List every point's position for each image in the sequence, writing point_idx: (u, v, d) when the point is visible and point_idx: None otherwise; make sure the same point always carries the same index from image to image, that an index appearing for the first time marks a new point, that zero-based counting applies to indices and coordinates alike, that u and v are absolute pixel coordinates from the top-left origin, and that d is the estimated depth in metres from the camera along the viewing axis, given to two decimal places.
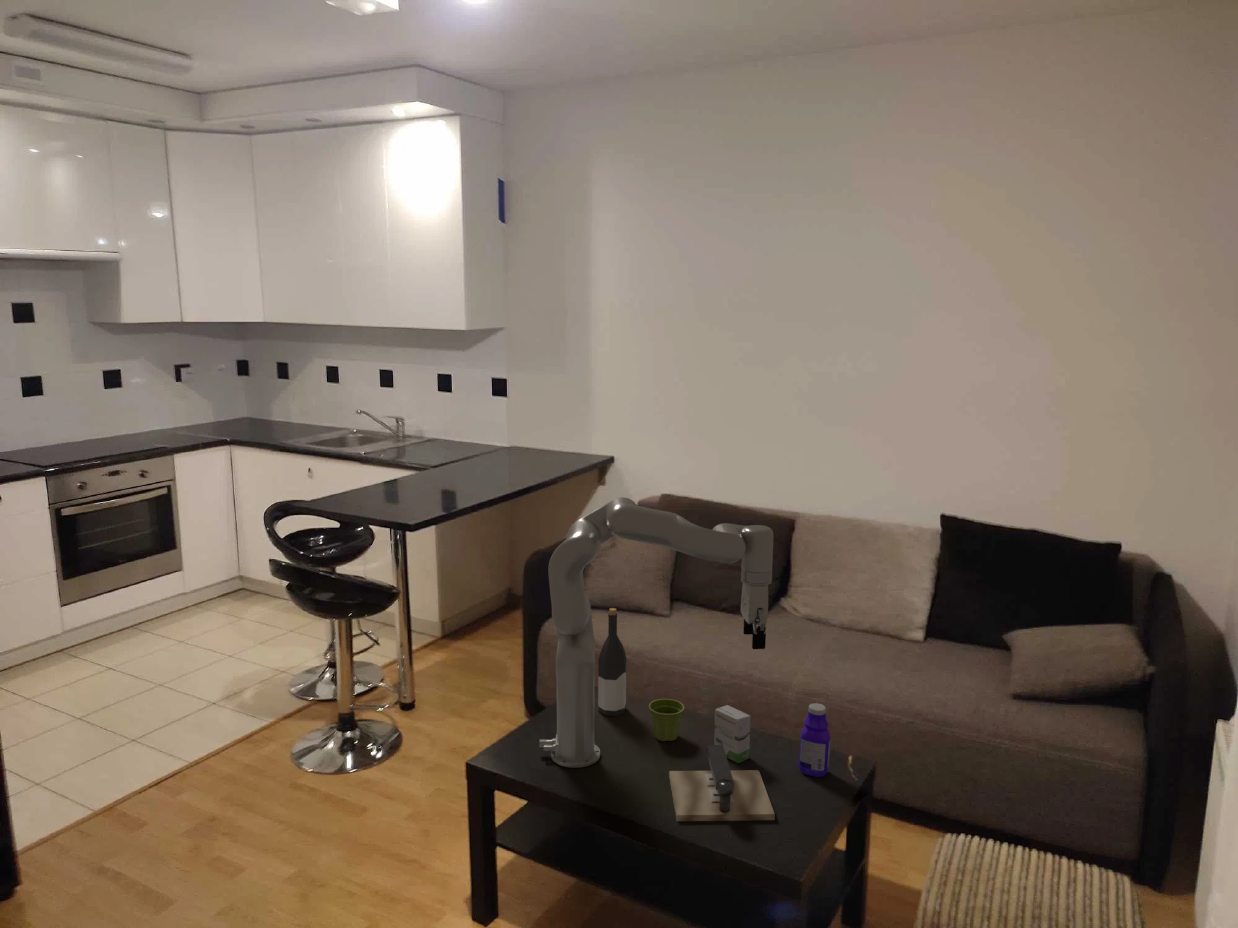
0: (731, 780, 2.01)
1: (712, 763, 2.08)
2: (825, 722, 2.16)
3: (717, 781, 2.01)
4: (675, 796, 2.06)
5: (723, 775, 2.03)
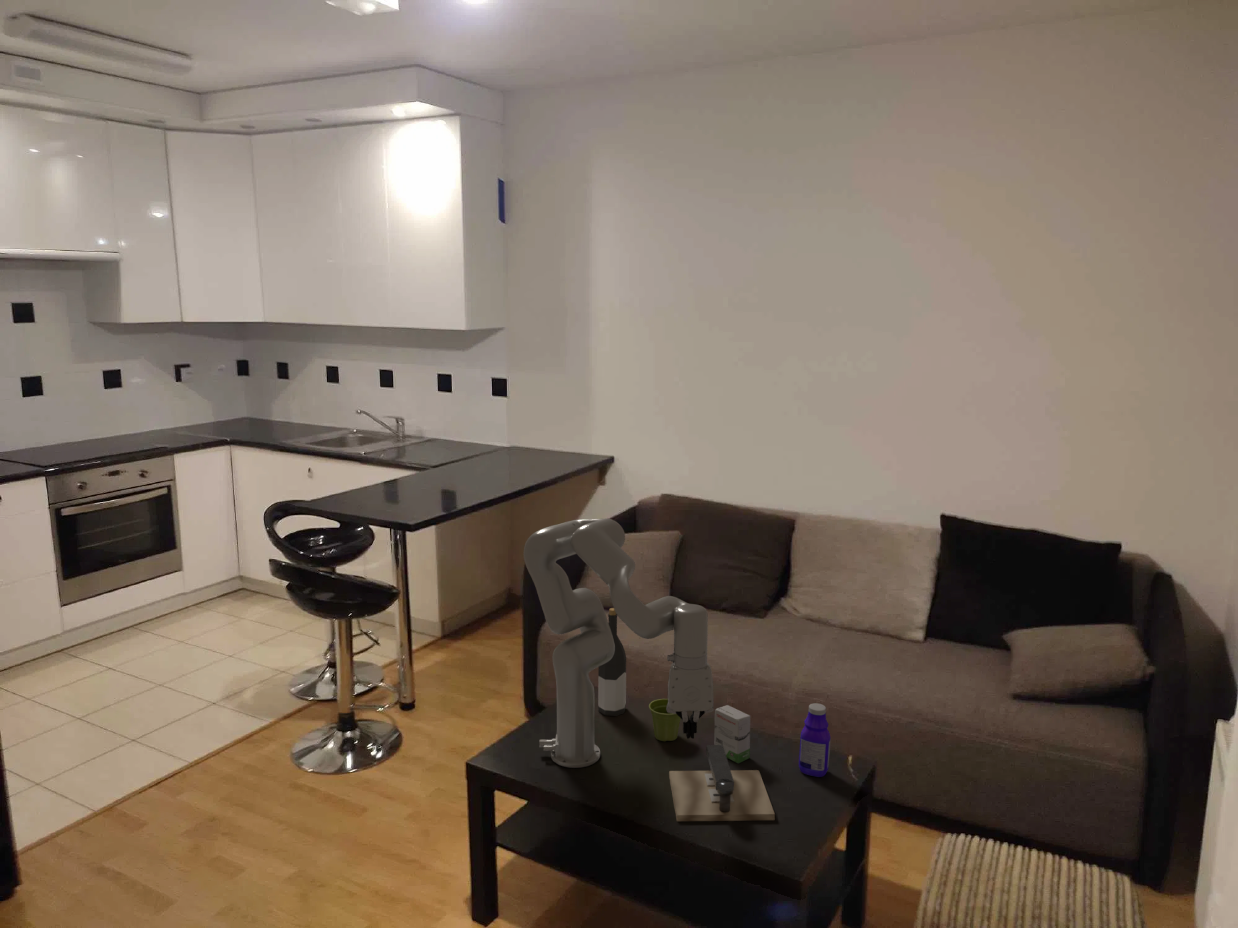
0: (731, 780, 2.01)
1: (712, 763, 2.08)
2: (825, 722, 2.16)
3: (717, 781, 2.01)
4: (675, 796, 2.06)
5: (723, 775, 2.03)
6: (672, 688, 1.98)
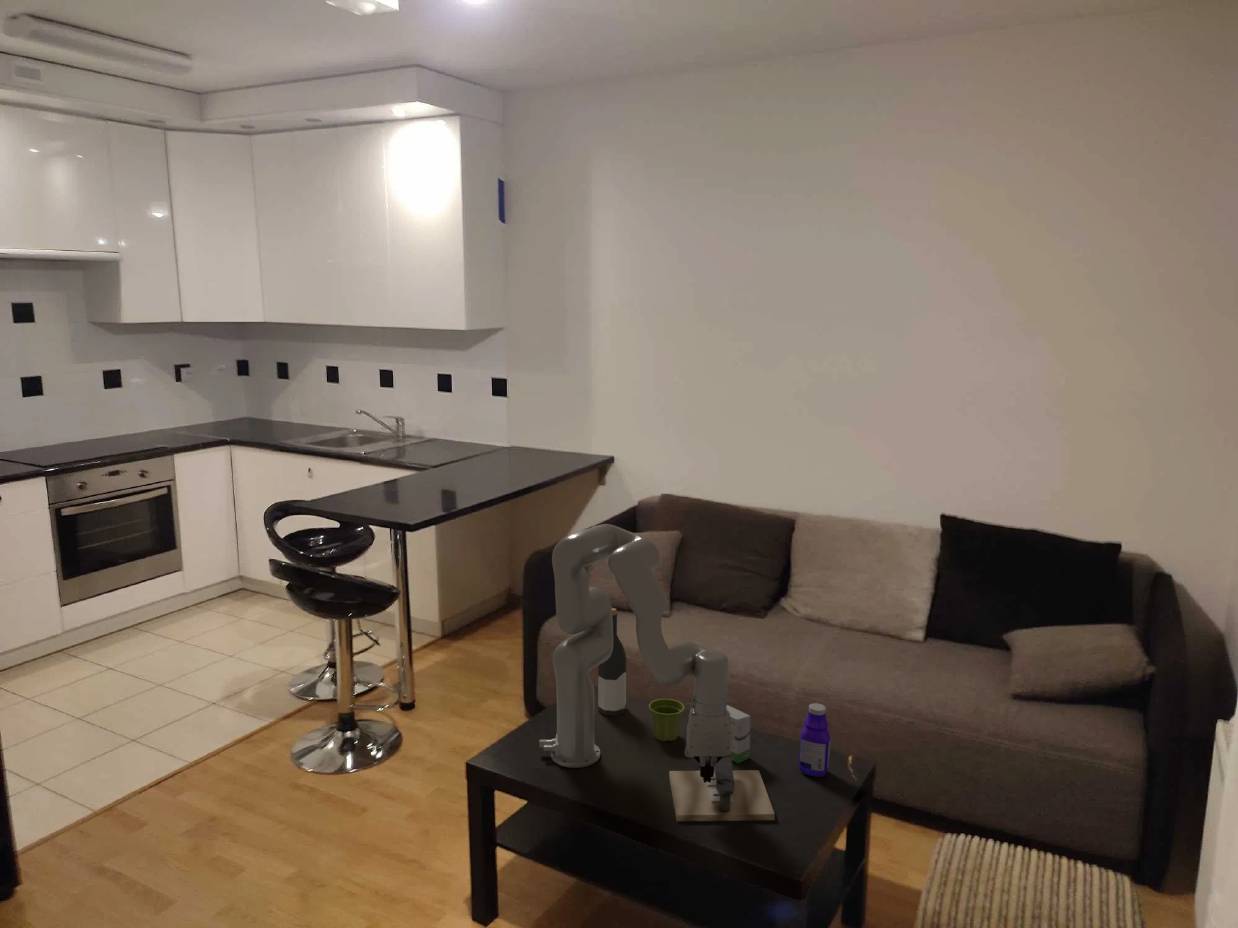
0: (732, 780, 2.01)
1: (716, 763, 2.08)
2: (825, 722, 2.16)
3: (717, 781, 2.01)
4: (675, 796, 2.06)
5: (724, 775, 2.03)
6: (691, 733, 2.01)
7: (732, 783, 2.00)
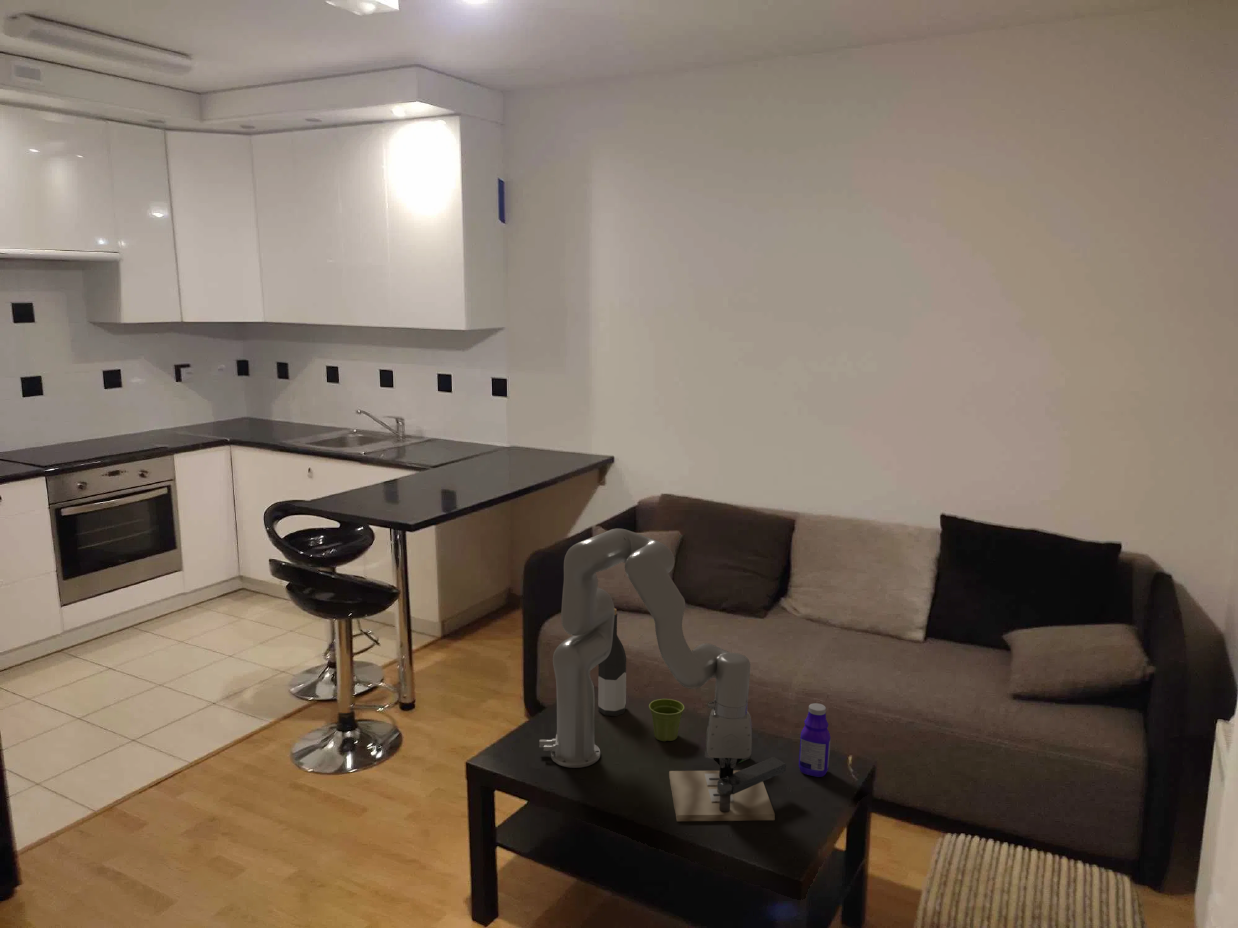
0: (733, 784, 1.99)
1: (747, 768, 2.06)
2: (825, 722, 2.16)
3: (722, 778, 2.02)
4: (675, 796, 2.06)
5: (735, 778, 2.02)
6: (711, 735, 2.01)
7: (730, 786, 1.99)
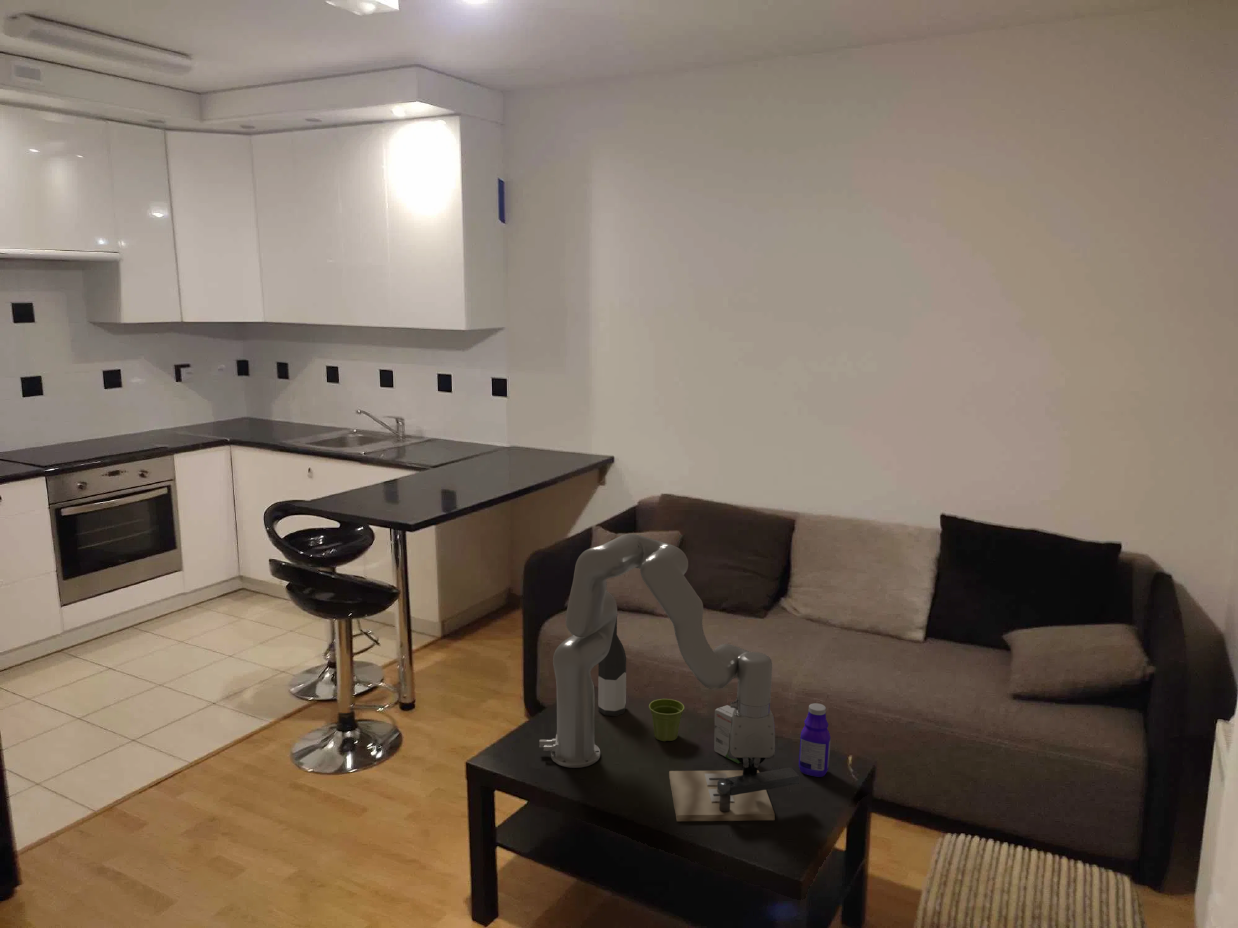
0: (732, 785, 1.99)
1: (757, 773, 2.04)
2: (825, 722, 2.16)
3: (725, 778, 2.02)
4: (675, 796, 2.06)
5: (737, 780, 2.01)
6: (735, 735, 2.01)
7: (728, 786, 1.98)
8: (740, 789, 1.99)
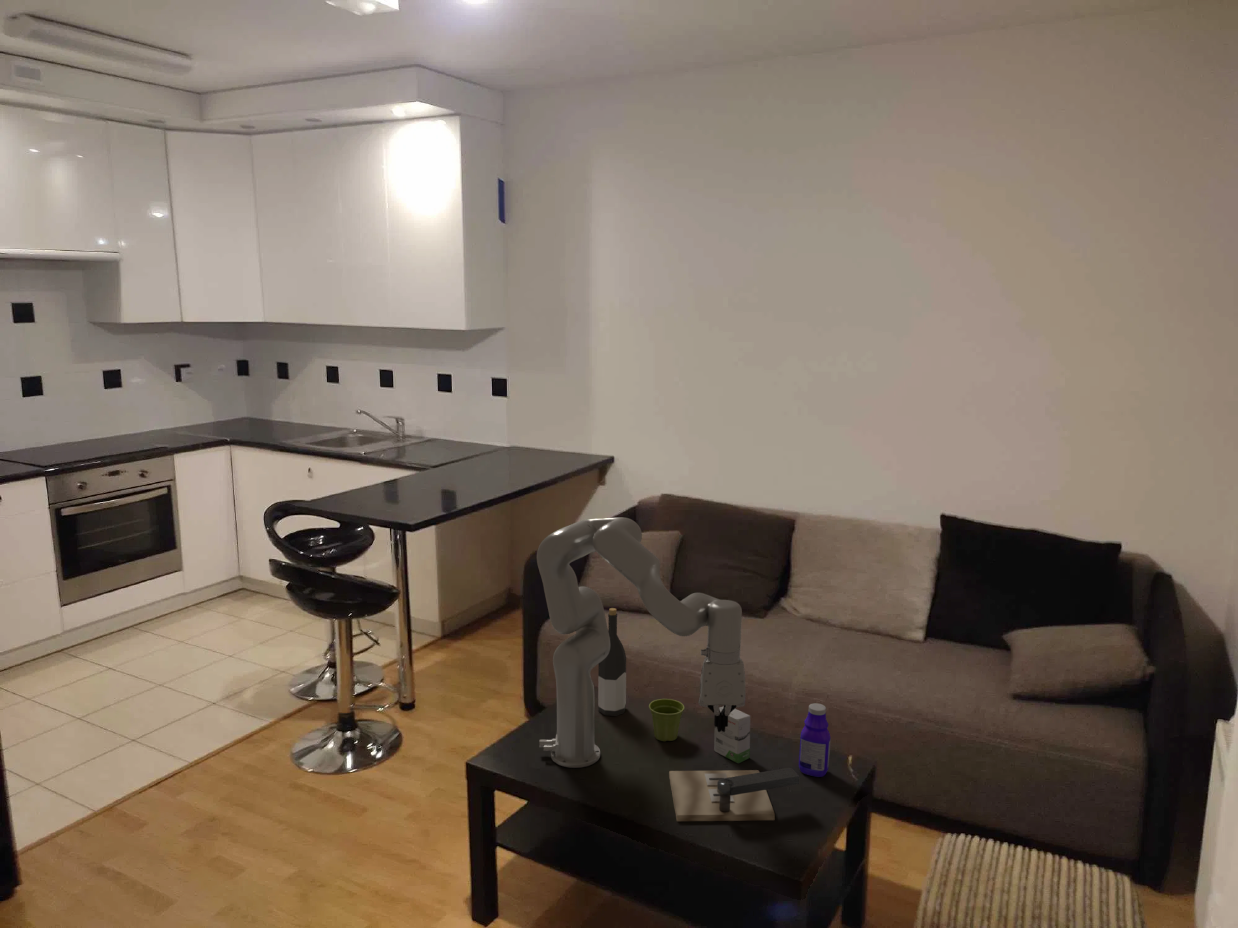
0: (732, 785, 1.99)
1: (757, 773, 2.04)
2: (825, 722, 2.16)
3: (725, 778, 2.02)
4: (675, 796, 2.06)
5: (737, 780, 2.01)
6: (705, 682, 2.01)
7: (728, 786, 1.98)
8: (740, 789, 1.99)
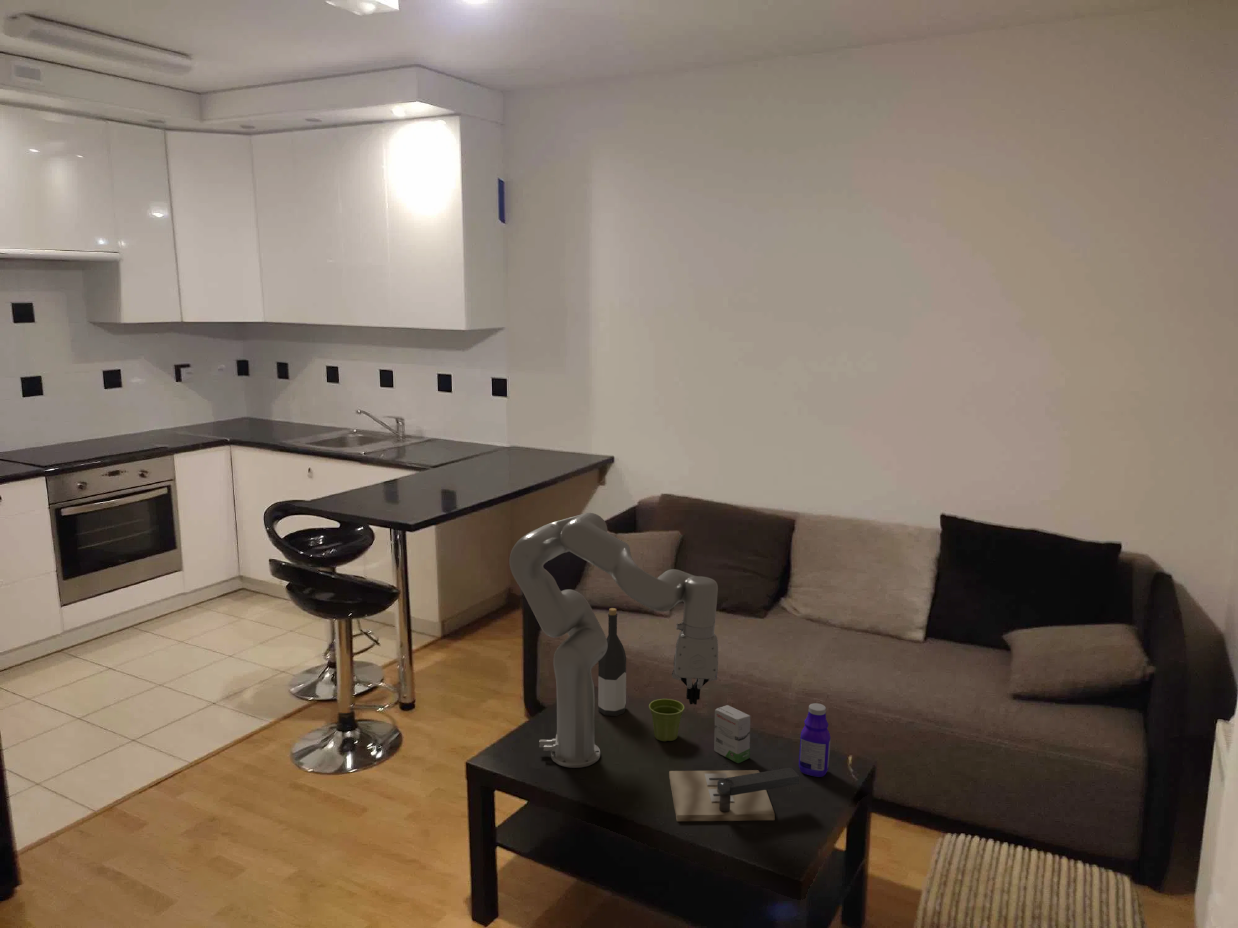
0: (732, 785, 1.99)
1: (757, 773, 2.04)
2: (825, 722, 2.16)
3: (725, 778, 2.02)
4: (675, 796, 2.06)
5: (737, 780, 2.01)
6: (679, 655, 2.07)
7: (728, 786, 1.98)
8: (740, 789, 1.99)
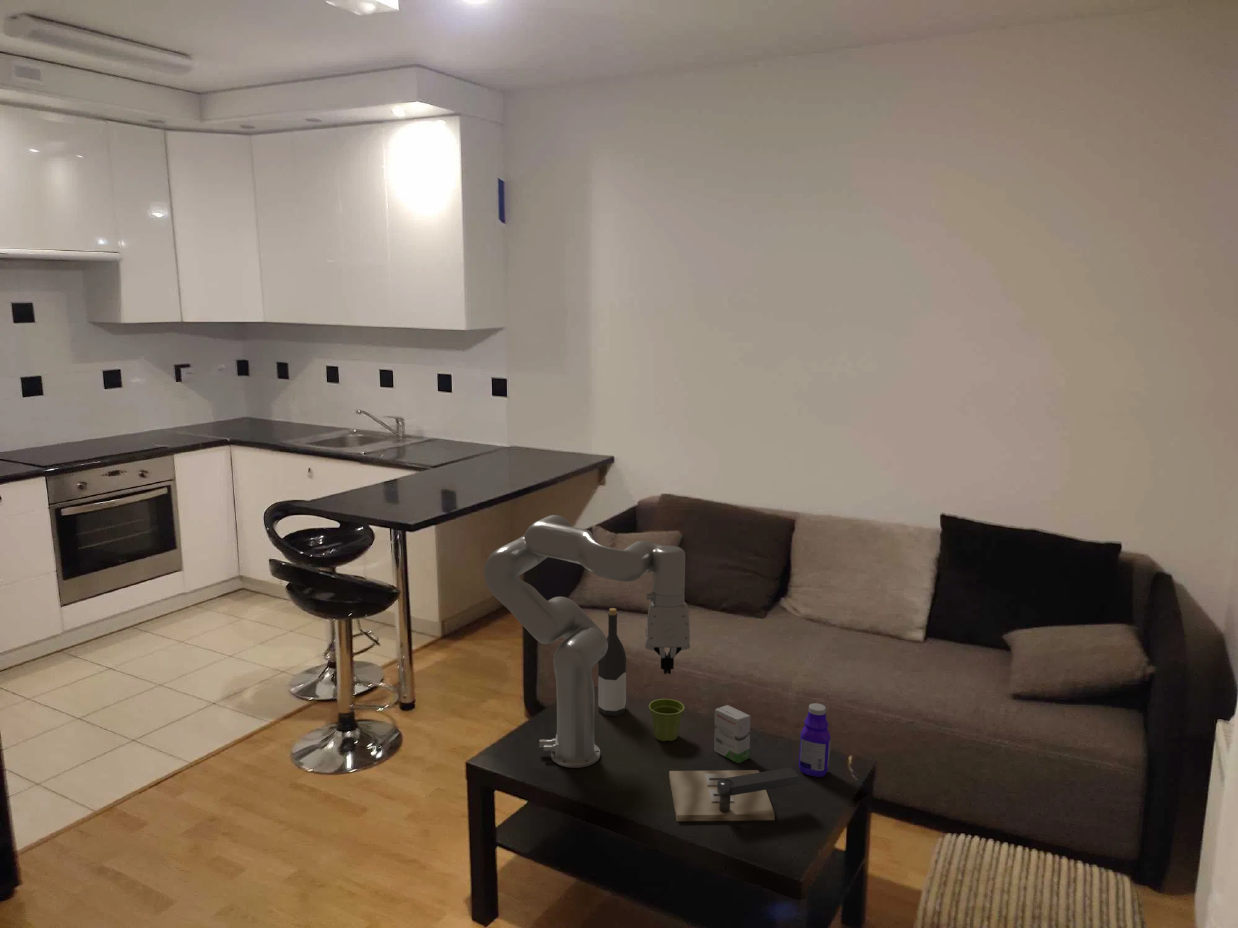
0: (732, 785, 1.99)
1: (757, 773, 2.04)
2: (825, 722, 2.16)
3: (725, 778, 2.02)
4: (675, 796, 2.06)
5: (737, 780, 2.01)
6: (650, 625, 2.08)
7: (728, 786, 1.98)
8: (740, 789, 1.99)
